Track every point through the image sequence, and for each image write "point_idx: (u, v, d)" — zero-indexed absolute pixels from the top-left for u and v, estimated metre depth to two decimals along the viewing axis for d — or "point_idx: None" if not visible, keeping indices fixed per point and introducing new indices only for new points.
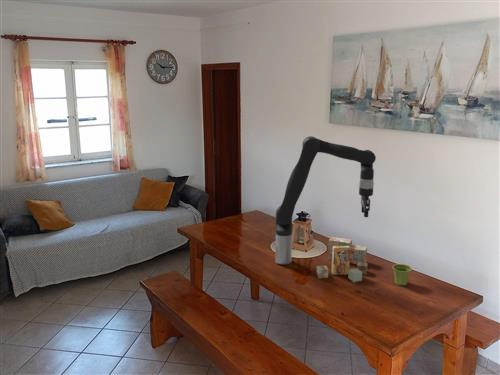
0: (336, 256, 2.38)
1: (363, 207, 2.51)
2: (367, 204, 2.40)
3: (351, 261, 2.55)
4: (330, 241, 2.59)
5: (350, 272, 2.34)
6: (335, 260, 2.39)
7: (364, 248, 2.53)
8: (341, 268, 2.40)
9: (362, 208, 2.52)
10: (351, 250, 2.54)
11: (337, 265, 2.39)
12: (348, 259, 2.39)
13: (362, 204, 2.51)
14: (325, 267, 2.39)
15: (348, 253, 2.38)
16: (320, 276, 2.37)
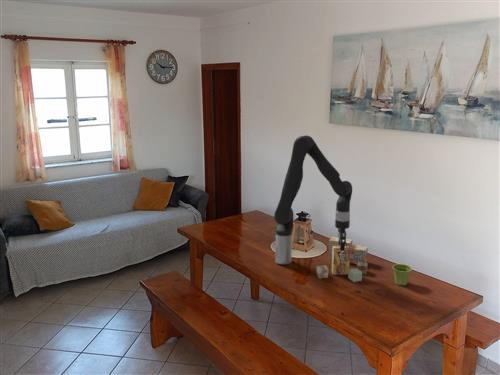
0: (336, 256, 2.38)
1: None
2: (343, 237, 2.31)
3: (351, 261, 2.55)
4: (330, 241, 2.59)
5: (350, 272, 2.34)
6: (335, 260, 2.39)
7: (364, 248, 2.53)
8: (341, 268, 2.40)
9: (339, 240, 2.42)
10: (352, 250, 2.54)
11: (337, 265, 2.39)
12: (348, 259, 2.39)
13: (339, 236, 2.42)
14: (325, 267, 2.39)
15: (348, 253, 2.38)
16: (320, 276, 2.37)
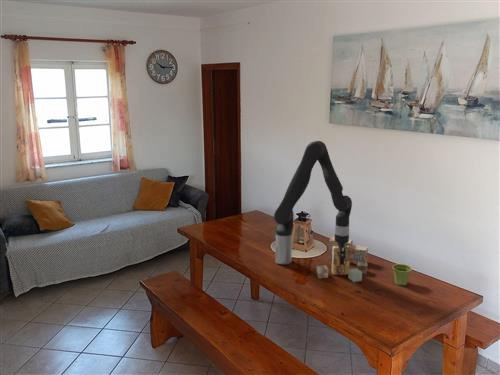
0: (336, 256, 2.38)
1: None
2: (342, 252, 2.32)
3: (352, 261, 2.55)
4: (331, 241, 2.58)
5: (350, 272, 2.34)
6: (335, 260, 2.39)
7: (365, 248, 2.53)
8: (341, 268, 2.40)
9: None
10: (352, 250, 2.54)
11: (337, 265, 2.39)
12: (348, 259, 2.39)
13: None
14: (325, 267, 2.39)
15: (348, 253, 2.38)
16: (320, 276, 2.37)
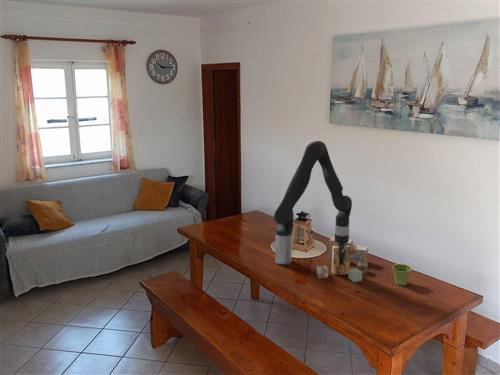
0: (336, 256, 2.38)
1: None
2: (342, 253, 2.33)
3: (352, 261, 2.55)
4: (331, 241, 2.58)
5: (350, 272, 2.34)
6: (335, 260, 2.39)
7: (365, 248, 2.53)
8: (341, 268, 2.40)
9: None
10: (352, 250, 2.54)
11: (337, 265, 2.39)
12: (348, 259, 2.39)
13: None
14: (325, 267, 2.39)
15: (348, 253, 2.38)
16: (320, 276, 2.37)
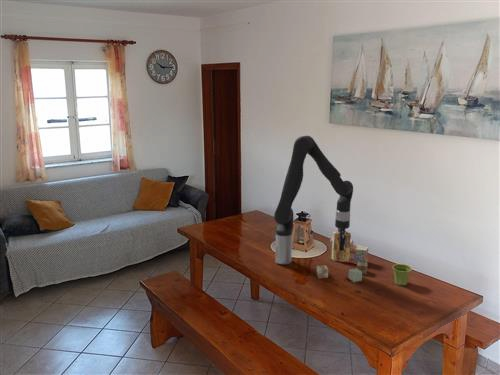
0: (336, 242, 2.36)
1: None
2: (342, 239, 2.31)
3: (352, 261, 2.55)
4: (331, 241, 2.58)
5: (350, 272, 2.34)
6: (335, 246, 2.37)
7: (365, 248, 2.53)
8: (341, 254, 2.38)
9: None
10: (352, 250, 2.54)
11: (337, 251, 2.37)
12: (348, 245, 2.37)
13: None
14: (325, 267, 2.39)
15: (348, 239, 2.36)
16: (320, 276, 2.37)
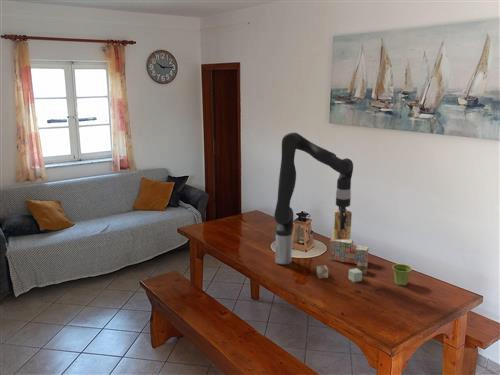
0: (337, 220, 2.34)
1: None
2: (343, 217, 2.29)
3: (352, 261, 2.55)
4: (331, 241, 2.58)
5: (350, 272, 2.34)
6: (336, 224, 2.35)
7: (365, 248, 2.53)
8: (342, 232, 2.36)
9: None
10: (353, 250, 2.54)
11: (338, 230, 2.35)
12: (349, 224, 2.35)
13: None
14: (325, 267, 2.39)
15: (349, 217, 2.34)
16: (320, 276, 2.37)
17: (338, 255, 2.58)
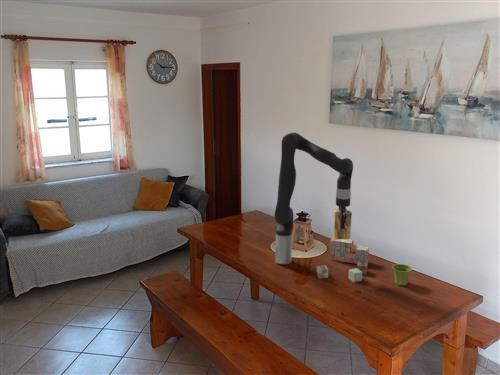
0: (337, 220, 2.34)
1: None
2: (343, 217, 2.30)
3: (353, 261, 2.55)
4: (332, 241, 2.58)
5: (350, 272, 2.34)
6: (336, 224, 2.35)
7: (366, 248, 2.53)
8: (342, 232, 2.36)
9: None
10: (353, 250, 2.54)
11: (338, 229, 2.36)
12: (349, 223, 2.35)
13: None
14: (325, 267, 2.39)
15: (349, 217, 2.34)
16: (320, 276, 2.37)
17: (338, 255, 2.58)
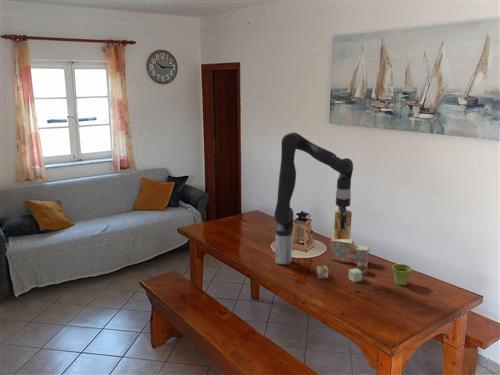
0: (337, 220, 2.34)
1: None
2: (343, 217, 2.30)
3: (353, 261, 2.55)
4: (332, 241, 2.58)
5: (350, 272, 2.34)
6: (336, 224, 2.35)
7: (366, 248, 2.53)
8: (342, 232, 2.36)
9: None
10: (353, 250, 2.54)
11: (338, 229, 2.36)
12: (349, 223, 2.35)
13: None
14: (325, 267, 2.39)
15: (349, 217, 2.34)
16: (320, 276, 2.37)
17: (338, 255, 2.58)
